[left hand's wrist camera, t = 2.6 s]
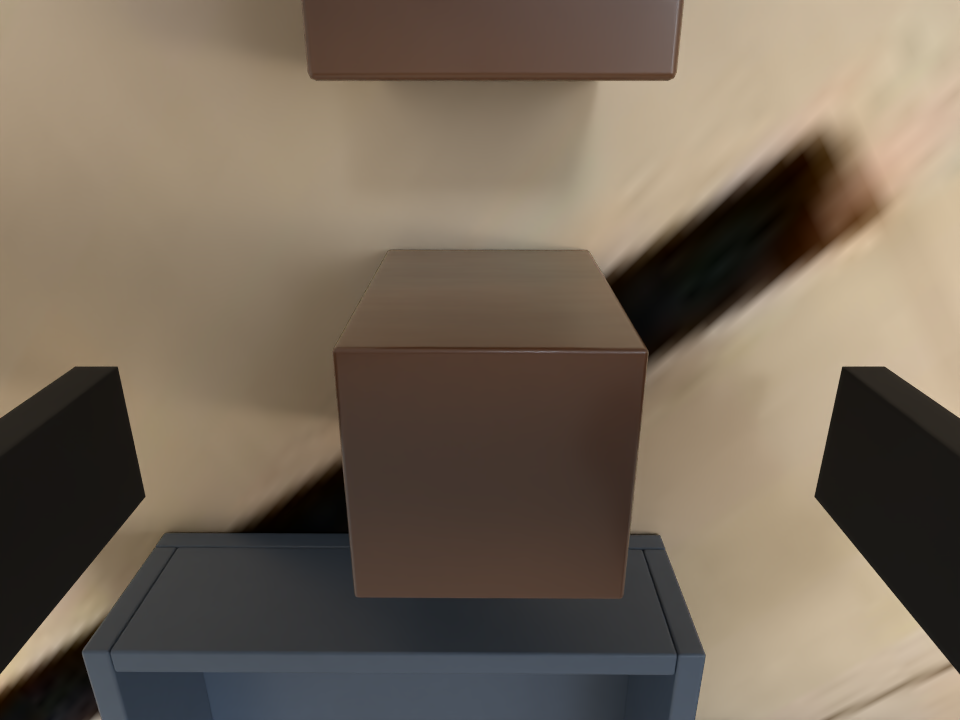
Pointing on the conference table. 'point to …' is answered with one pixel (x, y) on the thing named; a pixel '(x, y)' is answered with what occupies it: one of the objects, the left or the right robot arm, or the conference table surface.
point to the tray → (381, 642)
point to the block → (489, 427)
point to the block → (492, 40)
